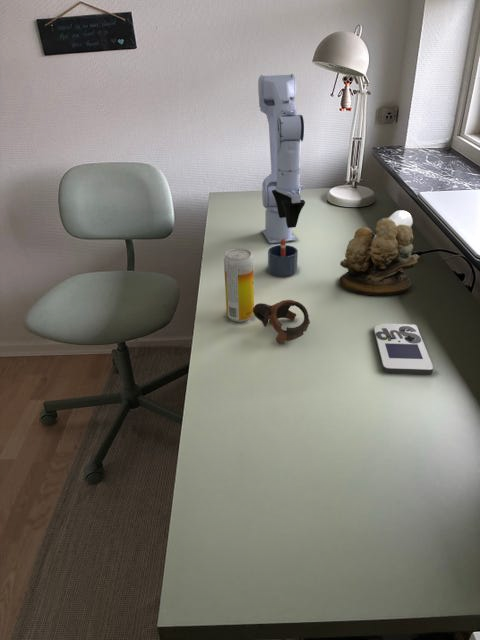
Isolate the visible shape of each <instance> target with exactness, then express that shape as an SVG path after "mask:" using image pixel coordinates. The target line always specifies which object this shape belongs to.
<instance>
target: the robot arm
mask: <svg viewBox="0 0 480 640" xmlns="http://www.w3.org/2000/svg"><path fill="white" fill-rule="evenodd" d="M257 81H258V82H257V91H258V107H259V109H260V112H261V113H263V114H265V115H266V118H267V122H268V135H269V137H268V138H269V153H270V155H269V156H270V174H268V175H267V176H266V177H265V178H264V179H263V181H262V185H261V186H262V189H261V198H262V199H261V200H262V206H263V207H264V209H265V224H264V225H265V228H264V229H262V231H261V232H262V234H263V235H264V237H265V238H266V240H267V242H268V243H269V244H276V243H277V244H278V243H281V239H285V240H286V242H287V243H288V242H295V241H297V238H296V236H295V235H294V234H293V228H296V227H297V224H298V221H299V217H300V214H301V212H302V210H303V208H304V207H305V206H306V205H305V204H306V201H305V200H304V199H301V197H302V195H301V193H300V192H301V190H304V189H305V185H303V184H301V158H302V157H301V156H302V155H301V154H302V142H303V141H304V138H305V119H304V115H303V114H299V112H298V109H297V106H296V103H295V100H296V98H295V97H296V94H297V78H296V76H295V74H293V73H291V74H274V75H263V74H261V75H260V76H259V77H258V79H257Z"/></svg>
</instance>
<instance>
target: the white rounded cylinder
mask: <svg viewBox="0 0 480 640" xmlns="http://www.w3.org/2000/svg"><path fill="white" fill-rule="evenodd" d="M388 218H389V219H391V220H393V221H394V222H395V224H396V226H398V225H407V226H410V227H411V228H412V226H413V224H414V220H413V217H412V215H411V213H409V212H408V211H406V210H402V209H399V210H396V211H394V212H393V213H392V214H391V215H389V216H388ZM374 236H376V234H374Z"/></svg>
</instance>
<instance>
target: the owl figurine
mask: <svg viewBox="0 0 480 640" xmlns="http://www.w3.org/2000/svg"><path fill="white" fill-rule="evenodd" d="M375 232H376V233H374V231H373V230H372V229H371V228H369V227H360V228H358V229H357V230H356V231H355V232H354V236H353V238H352V239H350V240H349V241H348V244H347V246H346V250H345V256H344V257H345V258H344V259H343V260H341V261H340V262H339V266H341V267H342V268H343V269H347V271H346V272H345V273H344V274H342V275H341V276H340V277H339V285H340V286H341V287H342V288H343V290H346V291H348V292H350V293H354V294H357V295H358V294H359V295H365V296H379V297H380V296H395V295H399V294H403V293H405V292H407V291H409V290H410V289H411V288H412V285H413V282H412V279H411V278H410V276H408V275H407V274H405V272H404V271H405V270H411V269H412V268H413V267H415V265H416V264H418V260H419V259H420V255H418V254H416V253H414V254H412V252H413V249H414V245H413V244H412V243H413V241H414V234H413V228H412V226H411V227H410V226H407V225H398V226H396V224H395V222H394V221H393V220H391V219H389V217H382V218H381V219H379V220H378V221H377V222H376V225H375ZM375 235H376V236H375Z"/></svg>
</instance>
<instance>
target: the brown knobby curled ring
mask: <svg viewBox="0 0 480 640" xmlns="http://www.w3.org/2000/svg"><path fill="white" fill-rule="evenodd" d="M291 307H297V308H298V309H299V310H300V311H301V312H302V314H303V321H302V323H301V324H300V325H298V326H295V327H288V326H286V330H285V329H283V328H282V325H283V324H282V323H281V322H280V320H279V319H286V320H287V319H288V320H290V321H292V322H294V321H295V319H296V316H297V313H295V312H293V311H291V310H290V308H291ZM253 313H254V314H253V316H255V318H256V319H258V320H259V321H260V322H261V323H262V324H263V327H264V328H266V327H268V326H267V325H268V323H269V324H270V325H271V326H272V328H273V330H274V331H275V332H276V333H277V335H276V337H275V342H277V343H278V344H281V345H282V344H285V343H286V342H290V341H293V340H296V339H298V338H300V337H302V336H303V335H304V333H305V332H307V330H308V328H309V325H310V324H311V321H310V318H309V312H308V309H307V308H306V306H304V305H303V304H302V303H301V302H299V301H296V300H293V299H284V300H281V301H278V302H276V303H274V304H267V303H262V302H261V303H257V304H254V308H253Z"/></svg>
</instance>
